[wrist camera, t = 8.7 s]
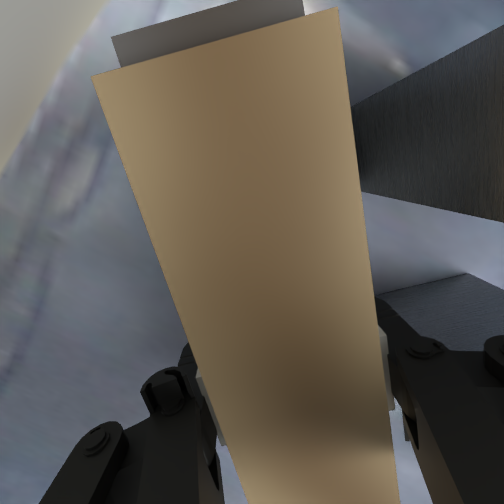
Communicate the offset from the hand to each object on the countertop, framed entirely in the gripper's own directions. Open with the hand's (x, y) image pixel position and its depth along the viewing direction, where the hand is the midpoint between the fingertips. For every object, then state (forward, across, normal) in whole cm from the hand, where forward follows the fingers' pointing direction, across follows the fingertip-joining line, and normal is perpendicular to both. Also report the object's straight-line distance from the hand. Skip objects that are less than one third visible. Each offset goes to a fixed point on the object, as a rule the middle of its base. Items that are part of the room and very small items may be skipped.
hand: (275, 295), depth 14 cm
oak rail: (-3, 0, 0) cm, 3 cm away
